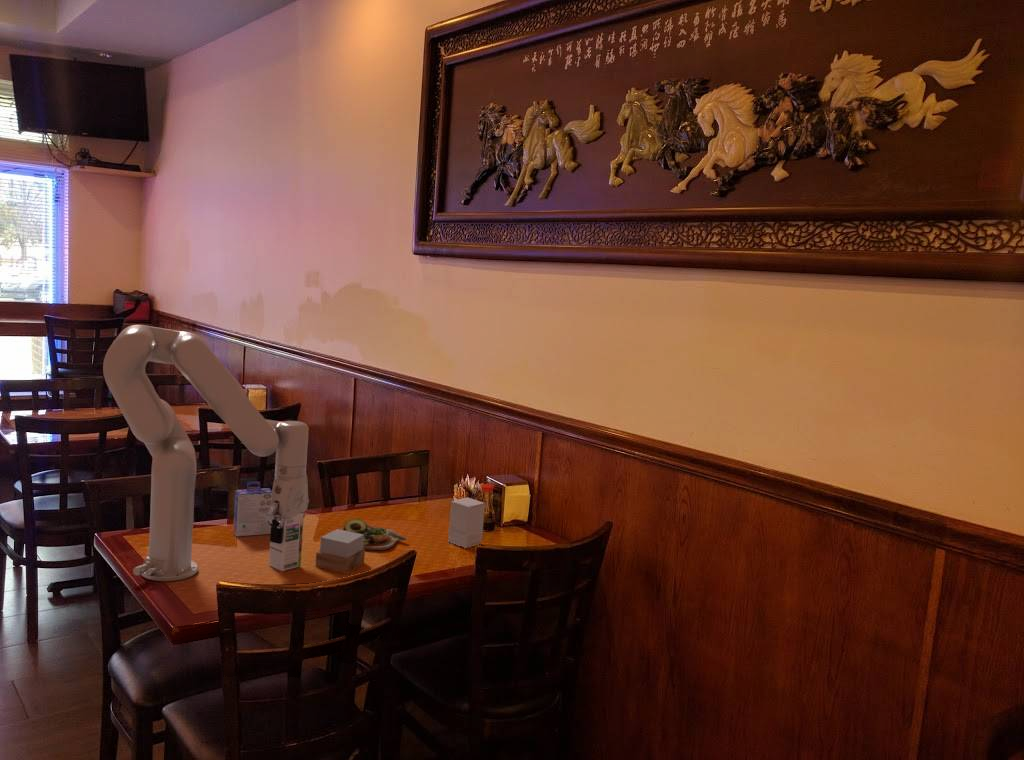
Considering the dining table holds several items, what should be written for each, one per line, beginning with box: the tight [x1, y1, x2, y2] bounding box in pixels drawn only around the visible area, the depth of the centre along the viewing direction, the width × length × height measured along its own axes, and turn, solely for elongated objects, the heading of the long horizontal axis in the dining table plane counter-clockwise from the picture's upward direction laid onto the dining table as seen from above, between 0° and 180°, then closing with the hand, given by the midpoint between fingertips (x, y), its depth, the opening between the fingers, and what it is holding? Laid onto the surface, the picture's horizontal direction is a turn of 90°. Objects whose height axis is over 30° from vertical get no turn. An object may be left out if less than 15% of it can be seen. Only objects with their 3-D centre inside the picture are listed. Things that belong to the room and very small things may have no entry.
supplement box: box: [447, 497, 486, 549], centre depth 231 cm, size 7×7×13 cm
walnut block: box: [315, 549, 366, 574], centre depth 206 cm, size 9×9×4 cm
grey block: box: [319, 528, 364, 558], centre depth 205 cm, size 8×8×4 cm
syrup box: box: [268, 512, 304, 572], centre depth 200 cm, size 6×6×14 cm
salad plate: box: [342, 518, 407, 551], centre depth 226 cm, size 19×18×5 cm
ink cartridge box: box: [232, 480, 272, 537], centre depth 222 cm, size 10×6×14 cm, turn 120°
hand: (286, 537), depth 200 cm, fingers open, 8 cm apart
